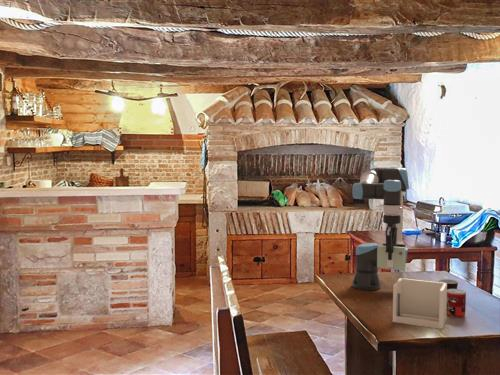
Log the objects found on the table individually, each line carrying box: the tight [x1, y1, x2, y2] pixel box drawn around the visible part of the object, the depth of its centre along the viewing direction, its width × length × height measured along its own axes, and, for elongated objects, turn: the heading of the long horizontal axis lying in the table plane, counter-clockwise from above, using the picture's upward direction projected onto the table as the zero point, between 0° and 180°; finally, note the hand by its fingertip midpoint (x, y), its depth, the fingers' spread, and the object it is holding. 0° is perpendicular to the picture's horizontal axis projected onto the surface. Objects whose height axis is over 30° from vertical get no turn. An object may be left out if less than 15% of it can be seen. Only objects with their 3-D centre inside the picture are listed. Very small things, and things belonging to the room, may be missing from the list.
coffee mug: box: [438, 278, 459, 290], centre depth 255 cm, size 12×9×10 cm
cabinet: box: [392, 277, 447, 330], centre depth 225 cm, size 20×14×16 cm
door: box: [377, 244, 406, 271], centre depth 236 cm, size 12×3×10 cm, turn 62°
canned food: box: [446, 288, 467, 319], centre depth 233 cm, size 8×8×11 cm
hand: (390, 266), depth 237 cm, fingers closed on door, 2 cm apart
